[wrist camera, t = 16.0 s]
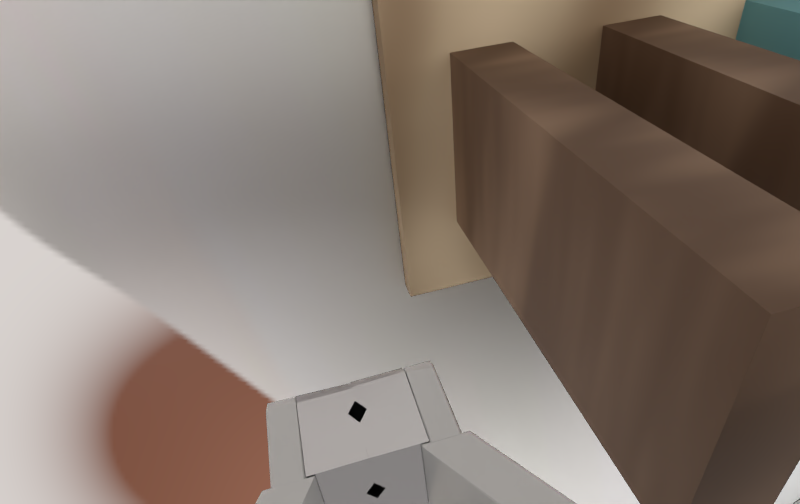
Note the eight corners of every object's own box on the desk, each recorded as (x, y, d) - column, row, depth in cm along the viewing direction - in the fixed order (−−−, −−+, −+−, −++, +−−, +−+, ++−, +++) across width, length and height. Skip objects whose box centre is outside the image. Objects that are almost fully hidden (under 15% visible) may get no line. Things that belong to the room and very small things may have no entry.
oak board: (1131, -167, 18) (1163, -168, 18) (953, 152, 26) (971, 159, 25) (365, -56, 15) (371, -53, 14) (405, 284, 22) (410, 296, 21)
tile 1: (512, 41, 16) (909, 275, 7) (508, 209, 20) (764, 519, 10) (449, 52, 16) (771, 314, 6) (456, 221, 20) (670, 550, 10)
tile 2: (660, 15, 17) (1206, 193, 7) (631, 181, 21) (976, 447, 11) (603, 25, 17) (1095, 224, 7) (582, 192, 20) (894, 474, 11)
